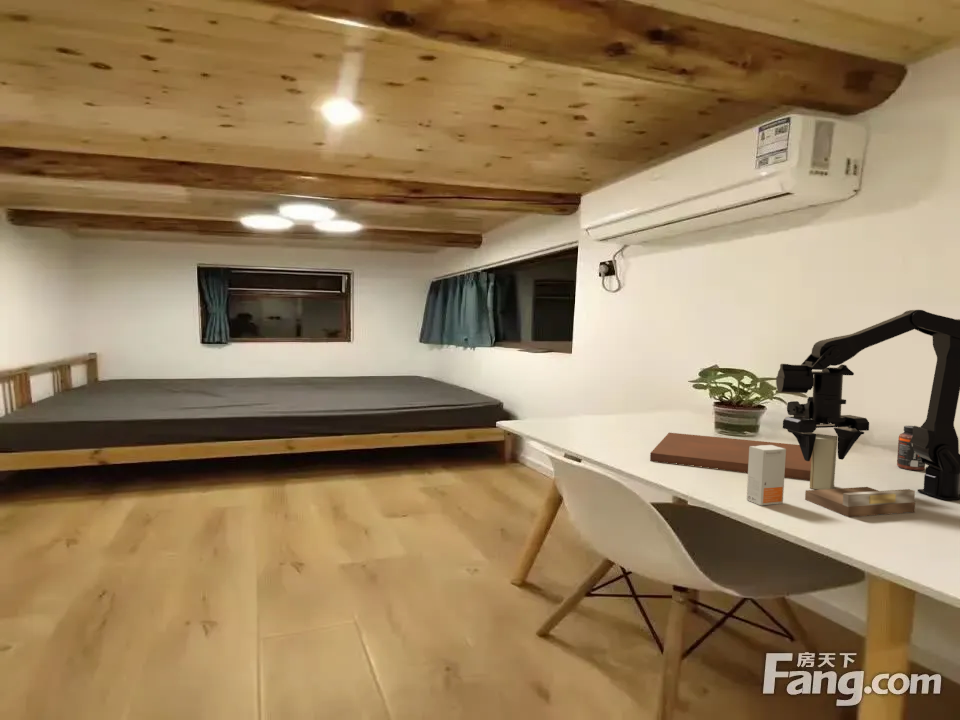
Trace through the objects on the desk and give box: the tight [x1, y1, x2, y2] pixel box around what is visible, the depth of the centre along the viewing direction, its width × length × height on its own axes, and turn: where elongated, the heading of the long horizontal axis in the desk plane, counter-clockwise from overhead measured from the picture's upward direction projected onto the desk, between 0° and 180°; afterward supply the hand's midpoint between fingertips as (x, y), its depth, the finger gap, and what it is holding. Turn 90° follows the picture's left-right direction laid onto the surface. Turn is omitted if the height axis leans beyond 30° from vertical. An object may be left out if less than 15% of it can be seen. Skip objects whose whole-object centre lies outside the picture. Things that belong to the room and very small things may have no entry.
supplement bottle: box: [896, 425, 926, 472], centre depth 146 cm, size 6×6×11 cm
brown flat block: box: [804, 486, 916, 518], centre depth 115 cm, size 16×11×4 cm
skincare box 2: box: [809, 433, 838, 490], centre depth 127 cm, size 6×4×12 cm
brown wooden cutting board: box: [649, 432, 812, 481], centre depth 157 cm, size 40×3×33 cm
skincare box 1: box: [746, 445, 786, 506], centre depth 117 cm, size 6×4×12 cm
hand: (823, 460), depth 127 cm, fingers open, 9 cm apart
